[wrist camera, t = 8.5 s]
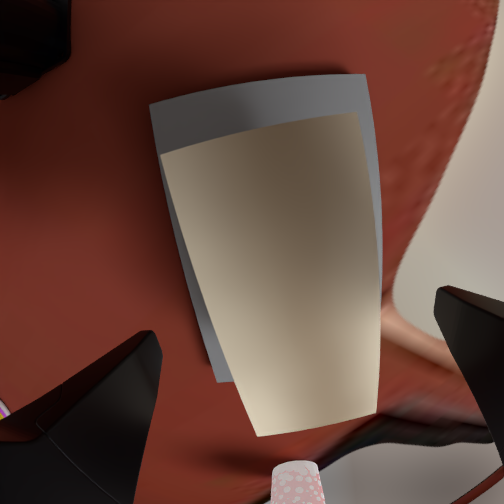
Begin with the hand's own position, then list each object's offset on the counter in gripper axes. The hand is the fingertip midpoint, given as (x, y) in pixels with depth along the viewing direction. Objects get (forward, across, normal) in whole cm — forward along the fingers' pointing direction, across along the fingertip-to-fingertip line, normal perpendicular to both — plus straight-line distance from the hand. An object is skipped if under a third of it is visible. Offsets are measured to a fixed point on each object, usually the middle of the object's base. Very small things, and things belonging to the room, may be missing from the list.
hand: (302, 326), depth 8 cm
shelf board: (+3, 0, 0) cm, 3 cm away
